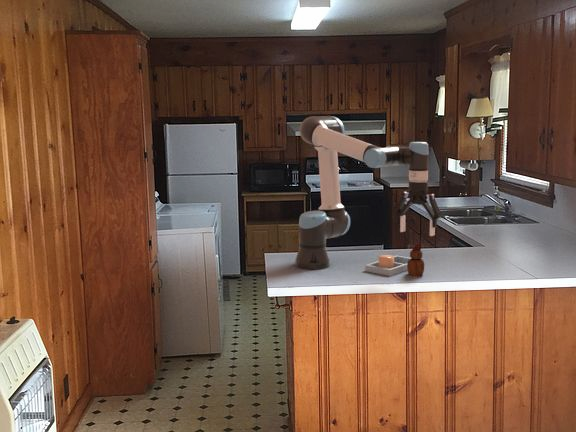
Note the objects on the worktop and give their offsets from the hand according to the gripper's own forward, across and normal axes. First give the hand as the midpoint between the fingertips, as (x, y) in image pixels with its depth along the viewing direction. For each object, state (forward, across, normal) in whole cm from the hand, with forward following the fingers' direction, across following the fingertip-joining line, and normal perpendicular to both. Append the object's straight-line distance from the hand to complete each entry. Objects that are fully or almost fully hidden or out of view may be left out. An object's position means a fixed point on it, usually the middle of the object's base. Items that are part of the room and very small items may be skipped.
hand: (417, 233), depth 259 cm
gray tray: (+18, -13, +3) cm, 22 cm away
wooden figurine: (+18, -1, 0) cm, 18 cm away
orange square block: (+17, -13, -3) cm, 21 cm away
